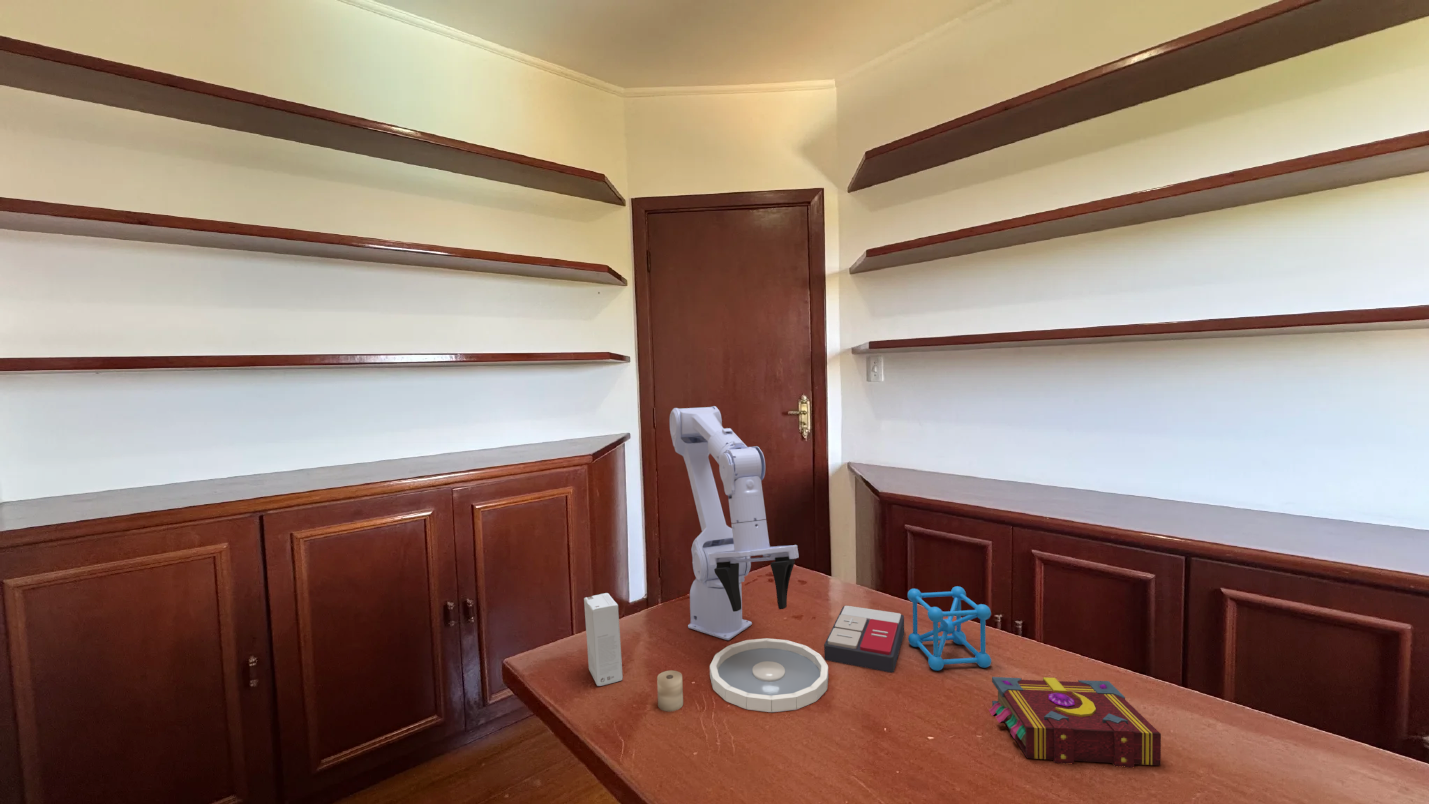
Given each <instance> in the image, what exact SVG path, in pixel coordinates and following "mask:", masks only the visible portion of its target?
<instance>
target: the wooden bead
mask: <svg viewBox="0 0 1429 804" xmlns="http://www.w3.org/2000/svg"><path fill="white" fill-rule="evenodd" d="M656 677H657V678H656V680H657V682H656V683H657V706H658V708H659V709H660V710H661V711H663V712H668V713H669V712H675V711H678V710H680V709H681V708H682V707H683V705H684V693H683V690H684V689H683V686H684V685H683V674H682V672H680V671H677V670H666V671H662V672H661V673H659V674H657V676H656Z"/></svg>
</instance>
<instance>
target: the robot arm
mask: <svg viewBox="0 0 1429 804" xmlns="http://www.w3.org/2000/svg"><path fill="white" fill-rule="evenodd" d="M722 421H723V419H722V414H721V411H720V409H718V407H717V406H715V405H713V406H707V407H706V406H704V407H689V408H688V407H686V408H678V407H674V408H672V410H671V411H670V414H669V431H670V432H669V433H670V436H671V440H672V446H673V448H674V451H675V453H677V454H678V455H680V456H682V458H683V460H684V463H685V467H686V470H687V474H688V479H689V482H690V486H691V491H692V495H693V500H694V504H695V507H696V512H697V515H698V516H697V517H698V521H699V525H700V529H701V532H700V533H699V535H697V537H695V539H694V540H693V542H692V546H691V557H692V569H693V573H694V576H695V579H694V580H693V582H692V584H691V586H690V591H689V613H690V623H689V624H688V625H687V627H688V629H691V630H695V631H697V632H700V633H704V634H706V635H710V636H713V637H716V638H719V639H722V640H725V641H730V640H731V639H732V638H734V637H735V636H737V635H738V634H740V633H742V632H743V631H744V630H746V629H748V628H749V627H750V626H751V625H753V623H752V621H750V620H747V619H743V599H742V598H743V597H742V596H743V595H742V583H743V582H745V577H747V576H748V575H749V572H750V571H751V568H752V567H751V566H752V563H753V562H764V561H765V562H766V561H772V562H770V564H769V565H770V568H771V570H772V571H771V572H772V575H773V579H774V584H775V591H776V601H777V606H778V610H784V609H786V608H787V604H788V603H787V602H788V590H789V586H790V585H789V583H790V581H791V580H790V579H791V575H792V571H793V569H794V566H795V560H797V559H799V556H800V555H799V550H798V549H799V548H798V545H797V544H794V545H777V546H771V545H770V539H769V532H768V523H767V522H768V521H767V515H766V507H765V500H764V492H763V485H762V484H763V483H762V481H763V480H764V478H765V476H766V460H765V456H764V452H763V451H762V450H761V449H760V447H759V446H757V445H756V446H748V445H746V443H744V441H743V440H741V438H740V437H739V436H738V435H737V433H735V432H734V431H733V429H732V428H730V427H729V428H728V427H726V428H724V427H723V422H722ZM710 455H711V456H712V457H713V459H714V460H715V461H716V462H717V464H718V465H719V467H718V468H719V469H718V471H719V476H720V479H721V481H722V484H723V491H724V493H725V495H726V496H727V497H728V506H729V507H728V508H729V516H730V522H731V523H730V524H731V527H730V526H729V525H727V522H726V518H725V516H724V512H723V508H722V504H721V500H720V497H719V492H718V489H717V485H716V479H715V478H714V474H713V469H712V466H711V463H710V459H709V456H710ZM755 556H762V557H755Z"/></svg>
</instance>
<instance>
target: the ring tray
mask: <svg viewBox="0 0 1429 804" xmlns="http://www.w3.org/2000/svg"><path fill="white" fill-rule="evenodd" d="M709 677H710V678H709V679H710V683H711V686H712V687H711V688H712V689H713V691H714V692H715V693H716V694H717V695H718V696H719V697H721V698H722V699H723V700H724V701H725V702H727V703H729V704H732V705H735V706H737V707H739V708H742V709H745V710H749V711H757V712H766V713H767V712H768V713H777V712H778V713H779V712H786V711H796V710H799V709H801V708H802V709H803V707H806V706H809V705H811V704H813V703H815V702H818V700H819V699H820V698H821V697H822V696H823V695H824V694H825V693H826V691H827V690H828V683H829V665H828V664H827V662H826V660H825V658H824V657H823V656H822V655H821V654H820V653H819V652H817V651H815V650H814V649H813V648H811V647H809V646H807V645H805V644H802V643H797V642H794V641H791V640H788V639H778V638H777V639H776V638H767V637H765V638H755V639H746V640H742V641H739V642H735V643H733V644H730V645H727V646H726V647H724V648H723V649H721V650H720V651H718V652H716V653H715V654H714V656H713V659H712V661H711V663H710V664H709Z"/></svg>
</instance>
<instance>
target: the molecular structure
mask: <svg viewBox="0 0 1429 804" xmlns="http://www.w3.org/2000/svg"><path fill="white" fill-rule="evenodd" d="M938 597H939V598H940V597H952V598H953V601H952V604H951V608H950V611H949V610H948V611H943V610H942V609H941V608H939V607H938V606H930V605H929V604H928V603H927V602H925V601H924V600H923V599H924V598H938ZM907 598H908V600H909V601H910V602H912V632H911V633H910V634H909V635H908V638H907V639H908V640H907V641H908V643H909V645H910V646H911V647H914V648H920V650H921V651H922V652H923V653H924V655H925V656H926V657H928V660H927V664H928V666H929V668H931V670H933V671H936V672H937V671H941V670H942V669H943V668H944V666H945V665H959V664H960V665H961V664H975V663H976V665H978V666H979V667H980V668H983V669H985V668H986V669H987V668H988V667H990V666H991V663H992V657H991V655H989V654H988V652H986V650H987V649H986V643H987V642H986V640H987V639H986V620H989V619H990V618H991V616H992V612H991V608H990V607H989V606H988V605H986V604H984V603H983V604H982V603H980V604H976V603H975V602H974V601H973V600H971V599H970V598H969V597H967V593H966V591H965V589H964V588H963V587H961V586H960V585H959V586H958V585H957V586H954V587H952V589H951V591H937V592H936V591H935V592H934V591H933V592H921V591H920V589H918V588H911V589H909V590H908V591H907ZM962 601H964V602H965V603H967V604H968V605H969V606H971V607H972V608H973V609H967V610H962ZM918 603H919V604H920V606H922V607H923V608H924V609H925V610H926V611H927V617H928V619H929V620H930V621H931V622H932V629H931V630H929V631H928V632H925V633H922V634H920V633H918V631H919V630H918ZM945 617H946V618H945ZM954 617H955V619H956V620H954V621H953V619H954ZM976 618H978V619H979V620H980V621H979V622H980V623H979V625H980V626H979V627H980V629H979V630H980V635H979V636H980V646H979V647H980V651H978V650H977V649H976V648H975V647H974V646H973V645H971V643H969V642H968V641H967V636H966V634H965V632H964V631H962V624H963V623H967V622H968V621H972V620H973V619H976ZM939 633H942V635H939ZM946 641H953V643H954V644H956V645H963V646H965V647H966V648H967V650H969V651H970V653H972V654H973V655H974V656H975V657H963V658H962V657H961V658H950V659H949V658H948V659H947V658H946V659H943V657H942V653H943V650H944V648H945V644H946ZM923 642H924V643H925V642H927V643H928V642H933V644H932V647H933V649H932V650H933V652H932V653H933V654H932V653H931V652H930V651H929V650H928V649H927V648H926V646H925V645H923Z"/></svg>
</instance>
